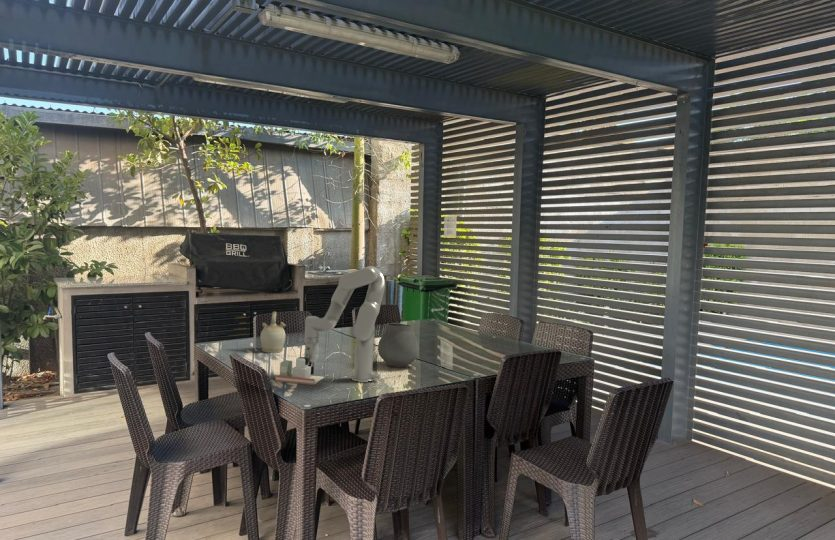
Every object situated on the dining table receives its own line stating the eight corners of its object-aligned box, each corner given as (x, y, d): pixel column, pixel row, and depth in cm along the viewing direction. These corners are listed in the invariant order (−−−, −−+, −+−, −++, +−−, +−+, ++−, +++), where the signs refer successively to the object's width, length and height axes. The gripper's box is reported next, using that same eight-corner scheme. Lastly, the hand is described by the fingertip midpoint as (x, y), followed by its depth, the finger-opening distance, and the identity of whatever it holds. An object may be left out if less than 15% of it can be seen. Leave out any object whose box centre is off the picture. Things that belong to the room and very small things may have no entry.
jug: (288, 349, 367) (289, 310, 365) (280, 354, 351) (281, 313, 350) (265, 347, 368) (266, 309, 366) (255, 352, 353) (257, 312, 351)
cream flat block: (324, 377, 303) (324, 371, 303) (313, 385, 286) (313, 379, 286) (288, 373, 306) (289, 368, 306) (275, 381, 289) (275, 375, 289)
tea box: (291, 378, 297) (292, 360, 296) (286, 380, 291) (287, 363, 290) (284, 377, 298) (285, 360, 297) (279, 380, 292) (280, 362, 291)
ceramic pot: (425, 365, 342) (428, 324, 341) (404, 373, 322) (406, 329, 320) (391, 359, 355) (393, 319, 353) (368, 365, 334) (371, 323, 332)
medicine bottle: (297, 378, 297) (298, 355, 296) (310, 380, 295) (311, 357, 294) (291, 381, 290) (292, 358, 289) (304, 383, 288) (305, 359, 287)
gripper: (313, 342, 295) (312, 378, 296) (323, 337, 310) (321, 371, 311) (299, 341, 296) (298, 376, 297) (309, 336, 311) (308, 370, 312)
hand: (310, 373), depth 304 cm, fingers closed
